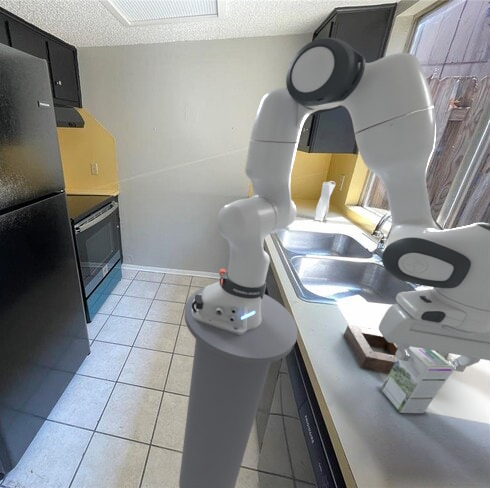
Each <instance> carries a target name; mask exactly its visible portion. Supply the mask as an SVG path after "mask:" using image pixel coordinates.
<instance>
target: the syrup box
mask: <svg viewBox="0 0 490 488" xmlns="http://www.w3.org/2000/svg"><path fill="white" fill-rule="evenodd" d="M405 350H406V351H407V352H408V354H409V355H410V356H411V357H410V359H408V361H402V360H398V359H397V361H396V362H395V364H394V366H393V368H392V370H391V371H390V373H389V374H387V377H386V379H385V381H384V383H383V384H382V386H381V388H380V391H381V392H382V394H383V395H384V396H385V397H386V398H387V399H388V400H389V402H390V403H391V404H392V405H393V406H394V408H395V409H396V411H398V413H399V414H424V413H426V411H427V409H428V407H429V406H430V404H431V403H432V401H433V400H434V398H435V397H436V395H437V394H438V392H439V391H440V390H441V389H442V387H443V386H444V384H445V383H446V381H447V380H448V379H449V377H450V376H451V374H452V373H453V371H455V370H454V368H455V367H454V366H453V365H452V364H451V363H449V362H450V361H448V360H447V359H446V358H443V357H442V356H441V355H440V354H438V353H437V352H436V351H434V350H428V349H422V348H417V347H411V346H410V347H409V349H405Z"/></svg>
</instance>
